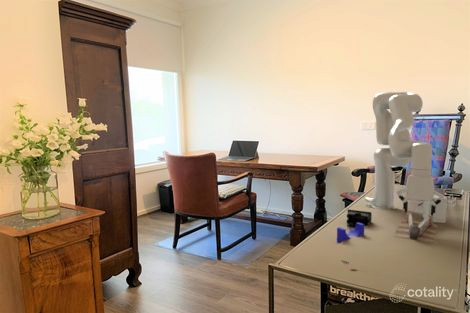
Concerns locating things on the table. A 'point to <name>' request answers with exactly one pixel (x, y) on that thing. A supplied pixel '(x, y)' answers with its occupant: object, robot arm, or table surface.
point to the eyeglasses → (449, 200)
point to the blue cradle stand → (354, 232)
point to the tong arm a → (409, 220)
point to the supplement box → (436, 210)
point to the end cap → (358, 218)
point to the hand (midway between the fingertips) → (418, 213)
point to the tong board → (422, 237)
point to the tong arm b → (425, 224)
